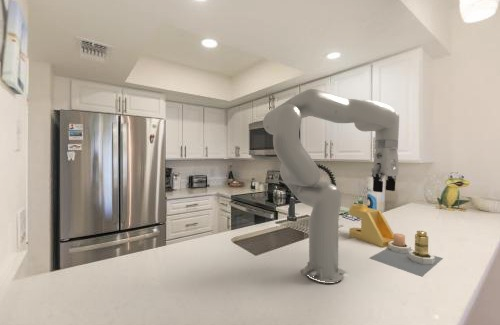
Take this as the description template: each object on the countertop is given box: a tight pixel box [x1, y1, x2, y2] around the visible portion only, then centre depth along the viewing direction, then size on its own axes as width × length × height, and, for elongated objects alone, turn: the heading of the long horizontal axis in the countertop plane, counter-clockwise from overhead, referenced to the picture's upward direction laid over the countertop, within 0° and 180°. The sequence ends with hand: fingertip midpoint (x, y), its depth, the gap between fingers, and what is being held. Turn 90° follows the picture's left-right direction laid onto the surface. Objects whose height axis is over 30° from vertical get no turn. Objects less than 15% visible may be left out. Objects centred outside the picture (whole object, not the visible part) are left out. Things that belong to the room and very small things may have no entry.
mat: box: [369, 247, 444, 277], centre depth 88 cm, size 22×17×1 cm
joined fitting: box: [387, 233, 412, 253], centre depth 96 cm, size 7×7×6 cm
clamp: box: [348, 203, 395, 249], centre depth 109 cm, size 20×9×16 cm, turn 25°
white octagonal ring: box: [409, 249, 436, 265], centre depth 86 cm, size 7×7×2 cm
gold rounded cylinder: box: [414, 230, 429, 258], centre depth 86 cm, size 4×4×10 cm
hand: (384, 191), depth 87 cm, fingers open, 9 cm apart
